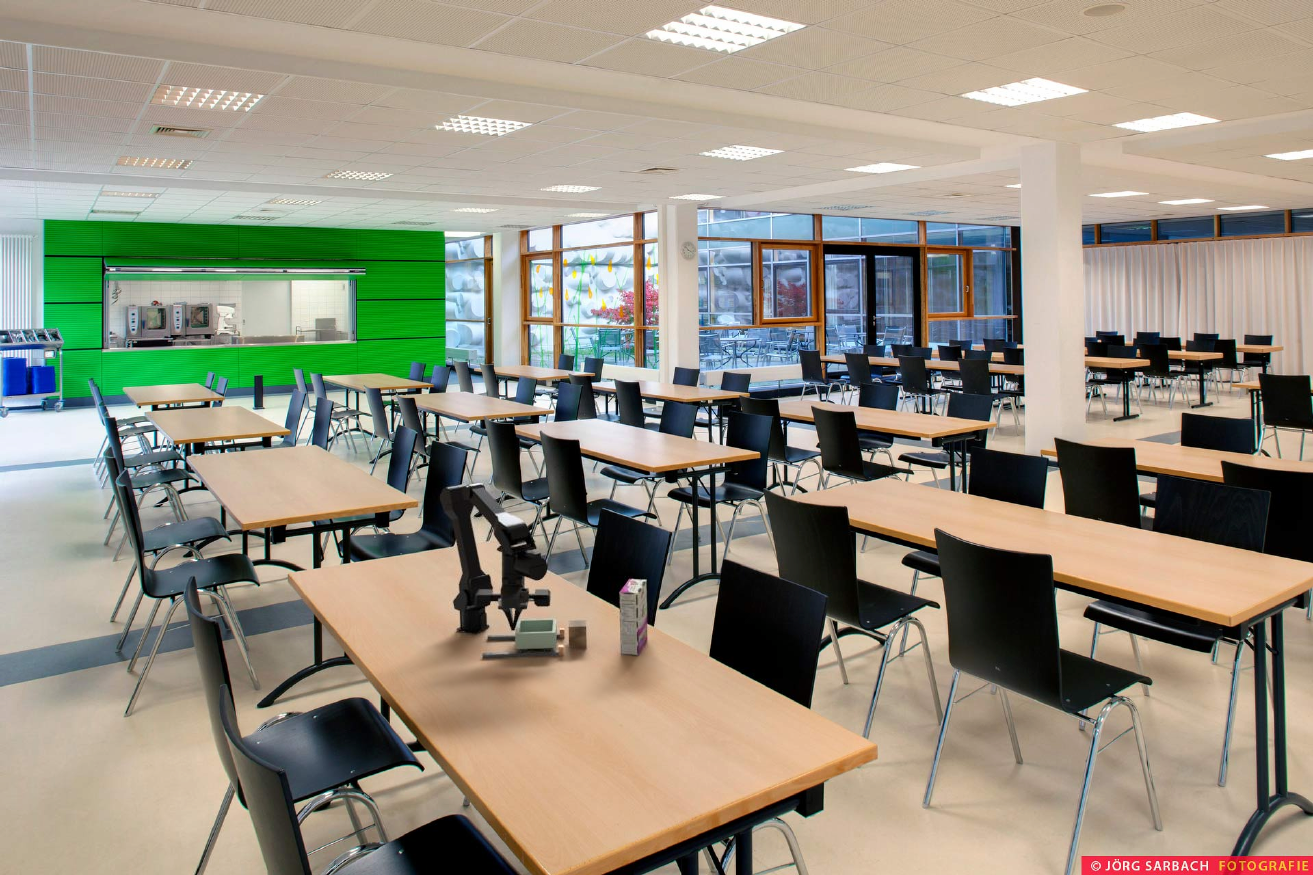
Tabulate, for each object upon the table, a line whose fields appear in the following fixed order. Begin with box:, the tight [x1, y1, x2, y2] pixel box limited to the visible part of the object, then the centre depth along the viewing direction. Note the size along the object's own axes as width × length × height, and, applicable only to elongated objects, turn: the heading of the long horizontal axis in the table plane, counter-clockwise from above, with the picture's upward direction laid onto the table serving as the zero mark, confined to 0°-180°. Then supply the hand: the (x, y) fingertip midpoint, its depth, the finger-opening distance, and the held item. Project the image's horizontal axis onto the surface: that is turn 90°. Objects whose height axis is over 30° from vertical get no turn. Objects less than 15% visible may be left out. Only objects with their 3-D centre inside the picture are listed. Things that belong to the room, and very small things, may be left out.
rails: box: [481, 627, 566, 660], centre depth 228 cm, size 20×13×2 cm, turn 95°
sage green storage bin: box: [514, 618, 558, 652], centre depth 228 cm, size 10×10×5 cm
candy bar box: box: [618, 578, 648, 656], centre depth 227 cm, size 11×5×16 cm, turn 168°
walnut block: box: [568, 619, 588, 650], centre depth 229 cm, size 4×4×6 cm
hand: (513, 630), depth 227 cm, fingers closed
